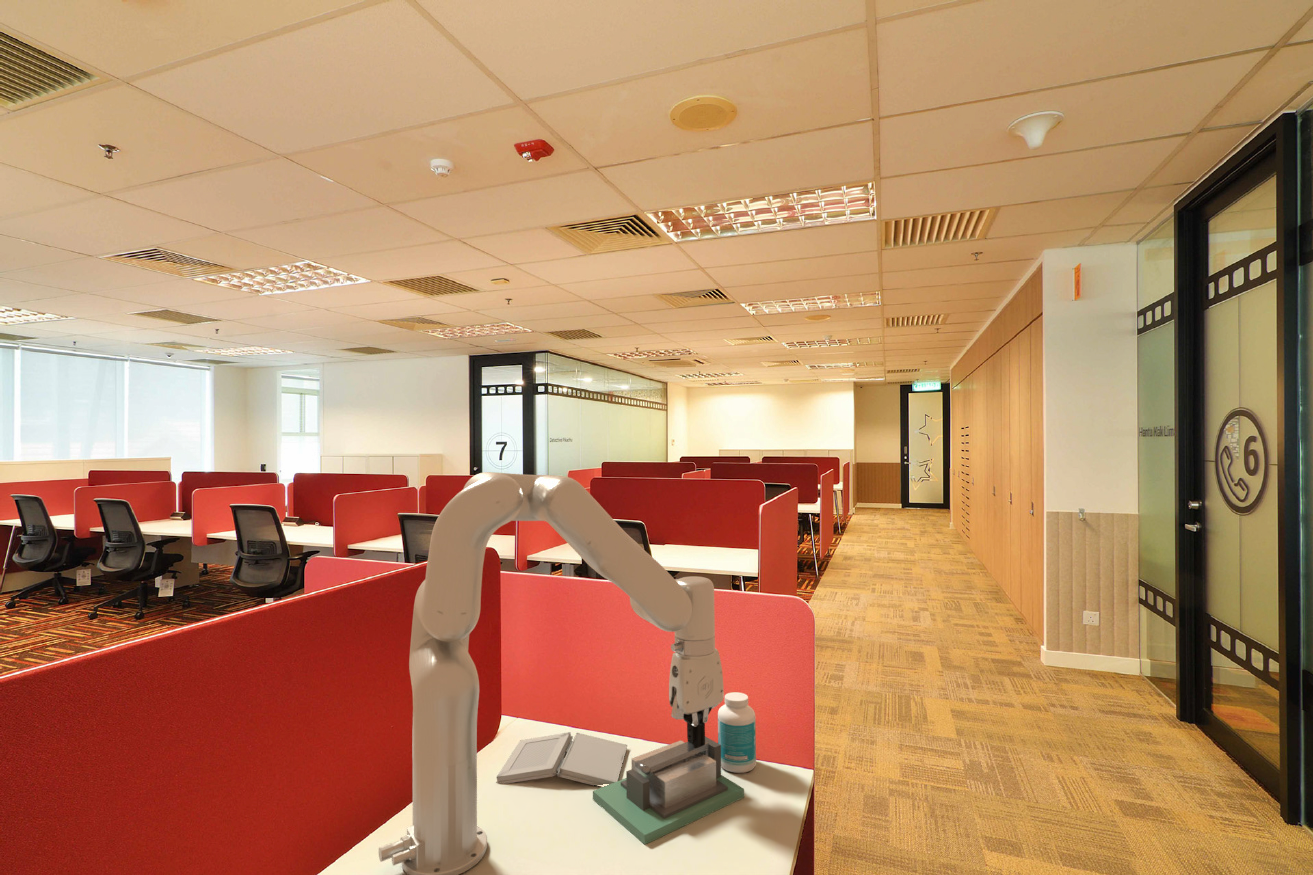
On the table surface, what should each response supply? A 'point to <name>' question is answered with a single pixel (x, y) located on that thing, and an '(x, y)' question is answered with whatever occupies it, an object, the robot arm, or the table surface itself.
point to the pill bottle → (737, 734)
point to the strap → (670, 757)
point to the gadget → (582, 761)
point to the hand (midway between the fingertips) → (696, 743)
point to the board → (653, 821)
